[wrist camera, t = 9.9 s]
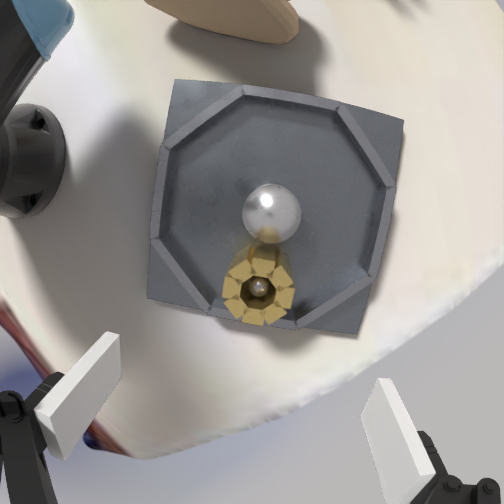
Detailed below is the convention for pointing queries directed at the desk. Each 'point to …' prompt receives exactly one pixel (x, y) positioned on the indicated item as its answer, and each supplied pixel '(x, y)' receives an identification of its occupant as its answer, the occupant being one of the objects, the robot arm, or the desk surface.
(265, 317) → the planet gear
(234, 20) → the brown rounded piece
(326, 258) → the tray
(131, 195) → the desk surface
